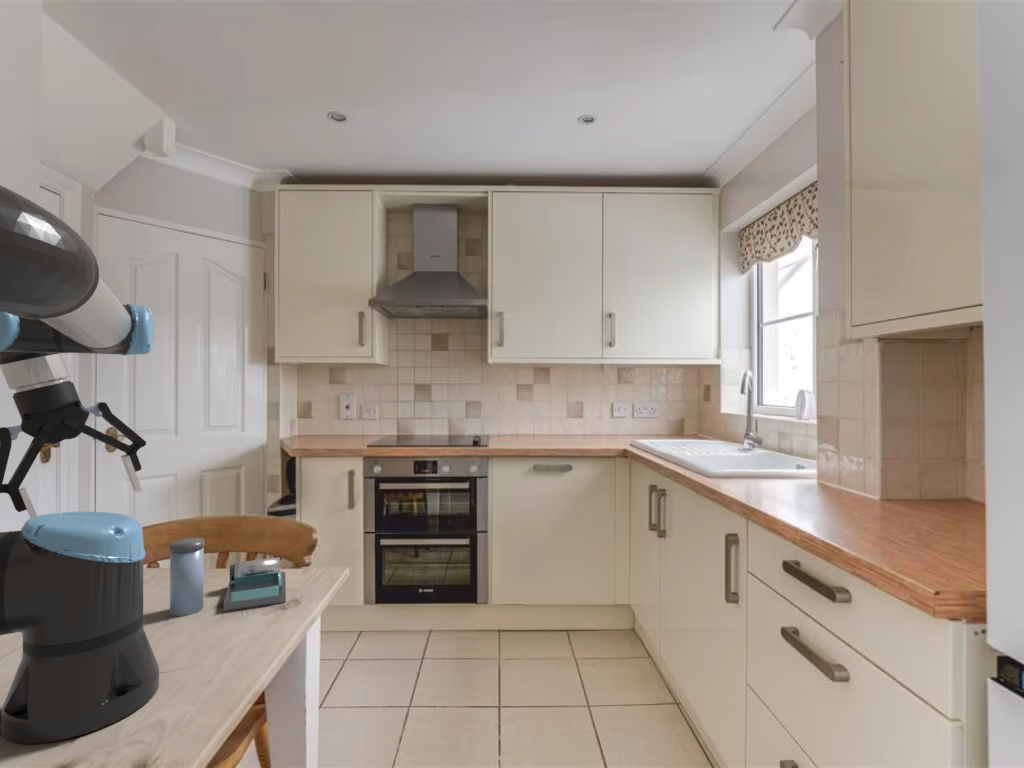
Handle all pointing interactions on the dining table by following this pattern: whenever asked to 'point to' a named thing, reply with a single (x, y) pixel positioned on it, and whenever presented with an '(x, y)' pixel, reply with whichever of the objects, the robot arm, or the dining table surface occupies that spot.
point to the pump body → (186, 576)
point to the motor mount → (255, 584)
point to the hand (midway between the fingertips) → (90, 508)
